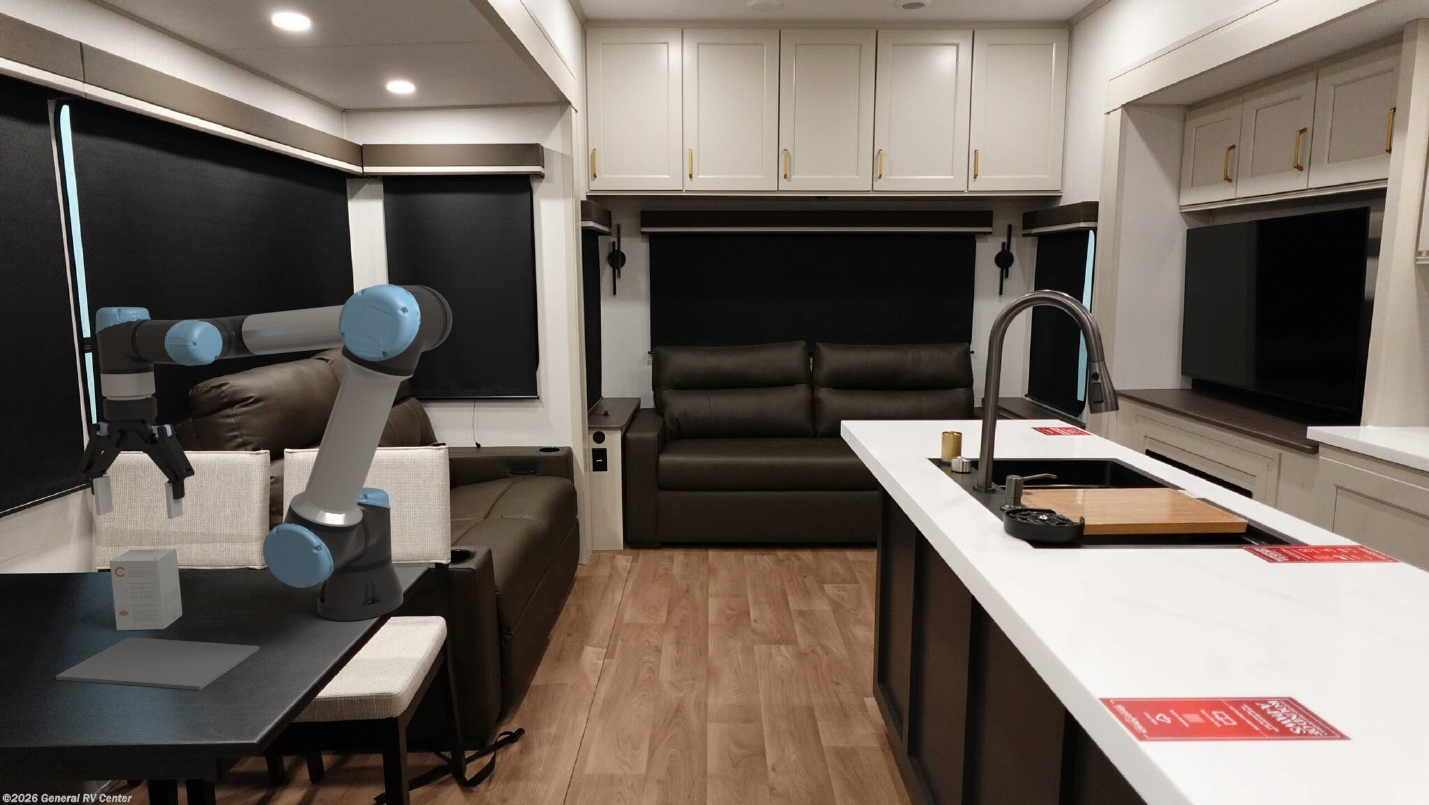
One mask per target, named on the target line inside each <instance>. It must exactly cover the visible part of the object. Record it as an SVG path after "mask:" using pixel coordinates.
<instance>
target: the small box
mask: <svg viewBox="0 0 1429 805" xmlns="http://www.w3.org/2000/svg"><path fill="white" fill-rule="evenodd" d="M109 567H110V575H111V578H110V579H111V586H112V595H113V606H114V607H113V608H114V618H115V626H116V631H141V630H142V631H143V630H144V631H145V630H147V631H148V630H164V629H166V628H168V627H169V626H170V625H171V624H173V623H174V622H175V621H177V620H178V619H179V618H181V617H182V616H183V608H182V598H181V597H182V595H181V594H182V593H181V586H180V574H179V573H180V572H179V564H178V555H177V548H169V549H167V548H163V549H162V548H161V549H159V548H158V549H131V550H130V549H129V550H128V551H126V552H124V553H122V554H120V555H119V556H117V557H115V558H113V559H110V560H109Z"/></svg>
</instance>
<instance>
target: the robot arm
mask: <svg viewBox="0 0 1429 805" xmlns="http://www.w3.org/2000/svg"><path fill="white" fill-rule="evenodd" d="M95 313H96V314H95V336H96V341H97V349H98V357H99V358H98V359H99V369H100V370H99V372H100V383H101V395H102V396H103V397H106V398H104V400H102V402H103V403H102V404H103V405H102V406H103V416H104V420H106V421H100V422H99V421H98V422H96V423H95V422H94V423H91V424H90V428H89V429H90V430H89V431H90V432H89V433H90V435H89V436H90V437H89V438H88V441H87V444H86V446H85V449H84V452H83V454H82V457H81V460H80V462H79V465H78V468H77V473H78V474H79V475H85V476H87V478H89V481H90V492H91V494H92V496H94V502H95V513H96V514H95V515H96V516H102V515H105V514H107V513H111V512H114V507H113V497H112V487H111V476H110V475H108V470H109V468H110V467H111V466H112V465H113V463H115V461H116V459H117V458H118V457H119V455H120V454H121V452H122V451H125V450H132V451H141V452H142V453H143V454H146V455H147V456H148V457H149V459H151V461H152V462H153V463H154V464H155V465H156V467H157V468H158V469H159V470H160V471H161V473H162V474H163V476H165V477H166V478H167V481H166V482H164V489H165V501H166V503H165V504H166V511H167V513H166V514H167V519H168V520H173V519H175V518H177V517H181V516H183V515H184V507H183V498H185V497H186V496H185V495H186V492H185V490H186V489H185V479H187V478H190V477H193V476H195V474H196V472H195V470H194V468H193V466H192V464H191V461H190V460H189V459H188V456H187V455H186V453H185V451H184V449H183V447H182V445H181V444H180V442H179V440H178V437H176V431H175V427H174V425H173V424H172V423H168V424H164V425H158V426H157V423H156V419H157V418H156V417H157V416H158V405H157V398H156V397H155V396H153V394H154V393H156V387H155V386H156V385H155V376H154V374H155V373H154V370H155V369H154V364H163V365H165V364H167V365H184V366H187V367H188V366H189V367H191V366H200V365H201V366H202V365H209V364H212V363H213V362H214V361H217V360H223V359H225V360H226V359H233V358H244V357H253V356H258V355H259V356H260V355H261V356H262V355H272V354H281V353H282V354H283V353H293V352H304V351H315V350H325V349H326V350H327V349H335V348H342V349H341V351H340V355H341V357H342V359H343V360H344V362H345V363H346V367H345V368H346V369H345V372H344V375H343V377H342V380H341V383H340V387H339V389H338V391H337V392H338V393H337V395H336V398H335V401H334V404H333V406H332V410H331V411H330V412H331V413H330V415H329V419H328V422H327V423H326V424H327V425H326V427H325V431H324V434H323V436H322V439H321V442H320V445H319V448H318V450H317V453H316V457H315V459H314V462H313V465H312V469H311V472H310V474H309V477H308V480H307V482H306V486H305V489H304V491H302V492H300V493H297V494H296V495H294V496H293V497H292V498H291V500H290V503H289V506H288V508H287V511H286V513H285V517H284V520H283V522H282V523H280V524H278V525H276V526H274V527H273V528H272V530H270V531H269V532H268V533H267V535H266V536H265V538H264V540H263V544H262V545H263V546H262V556H263V559H264V562H265V564H266V565H267V566H268V568H269V571H270V572H271V574H272V575H273V576H274V577H275V578H277V580H278V581H280V582H282V583H283V584H285V585H287V586H290V587H294V588H300V589H301V588H302V589H303V588H310V587H314V586H315V585H318V584H320V583H322V584H321V587H320V590H319V594H318V596H317V613H318V614H319V616H321V618H324V619H327V620H332V621H341V622H351V621H353V622H355V621H361V620H363V621H364V620H368V619H373V618H377V617H381V616H383V615H387V614H389V613H391V612H393V611H395V610H396V609H398V608H399V607H400V606H401V605H402V604H403V602H404V591H403V587H402V584H401V582H400V579H399V577H398V575H397V572H396V569H395V567H394V565H393V559H392V558H393V556H392V525H391V523H392V522H391V521H392V520H391V511H392V509H391V508H392V507H391V505H390V498H389V494H388V492H387V491H385V490H384V489H382V488H381V489H380V488H374V487H364V485H365V482H366V479H367V477H368V474H369V471H370V468H371V465H372V464H373V460H374V457H375V455H376V452H377V449H378V446H379V443H380V440H381V438H382V436H383V432H384V429H385V426H386V424H387V421H388V418H389V415H390V412H391V409H392V407H393V405H394V404H393V403H394V401H395V398H396V395H397V392H398V390H399V387H400V384H401V382H403V381H405V380H407V379H410V378H412V377H413V376H414V373H415V372H416V368H417V367H418V366H417V365H418V362H419V360H420V357H421V355H422V353H423V352H427V351H431V350H433V349H435V348H437V347H438V346H440V345H441V344H442V343H443V342H444V341H445V340H446V339H447V338H448V336H449V334H450V333H451V330H452V326H453V312H452V309H451V307H450V305H449V303H448V301H447V300H446V298H444V296H443V295H442V294H441V293H439V292H438V291H436V289H433V288H431V287H429V286H425V285H421V284H411V285H408V284H407V285H404V284H403V285H395V284H388V283H385V284H384V283H383V284H376V285H372V286H368V287H365V288H362V289H360V290H358V291H356V292H355V293H353V294H352V295H351V296H350V297H349V298H348V299H347V300H346V301H345V302H344V304H341V305H333V306H332V305H331V306H322V307H315V308H314V307H311V308H305V309H303V308H302V309H295V310H285V311H274V312H264V313H258V314H257V313H255V314H247V315H236V316H235V315H234V316H228V317H227V316H226V317H214V318H194V319H172V320H171V319H159V320H158V319H151V317H150V313H149V310H148V309H147V308H145V307H138V306H137V307H136V306H135V307H134V306H130V307H129V306H118V307H117V306H116V307H115V306H112V307H101V308H99V309H98V310H97V311H96V312H95ZM107 421H108V422H107ZM108 436H110V439H109V440H108ZM107 440H108V442H107ZM104 448H105V449H104Z"/></svg>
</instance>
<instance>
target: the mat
mask: <svg viewBox="0 0 1429 805" xmlns="http://www.w3.org/2000/svg"><path fill="white" fill-rule="evenodd" d="M260 649H261V648H260V646H259V645H252V644H251V645H250V644H236V643H235V644H234V643H219V642H204V641H189V640H188V641H187V640H178V639H177V640H176V639H175V640H174V639H159V638H149V637H148V638H145V637H133V636H132V637H131V636H128V637H126V638H125V639H123V640H121V641H119V642H117V643H115V644H113V645H111V646H109V647H108V648H106V649H104V650H102V651H100V652H98V653H97V654H94V655H93V656H91V657H89V658H87V659H86V660H83V661H81V662H79V663H78V664H75V665H74V666H71V667H70V668H68V669H65V670H64V671H62V672H60V673H58V674H57V675H55V680H57V681H58V680H59V681H72V682H83V683H96V684H98V683H99V684H109V685H110V684H112V685H126V686H136V687H137V686H139V687H140V686H141V687H150V688H151V687H153V688H166V689H179V690H193V691H200V690H201V691H202V689H204V688H205V687H207V686H208V685H209V684H211V683H213V682H214V681H216V680H217V679H218V678H220V677H221V676H223V675H224V674H225V673H227V672H228V671H230V670H231V669H233V668H235V667H236V666H238V665H239V664H240V663H242V662H244V661H245V660H246V659H248V658H249V657H251V656H252V655H254V654H255V653H257V652H259V650H260Z"/></svg>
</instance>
